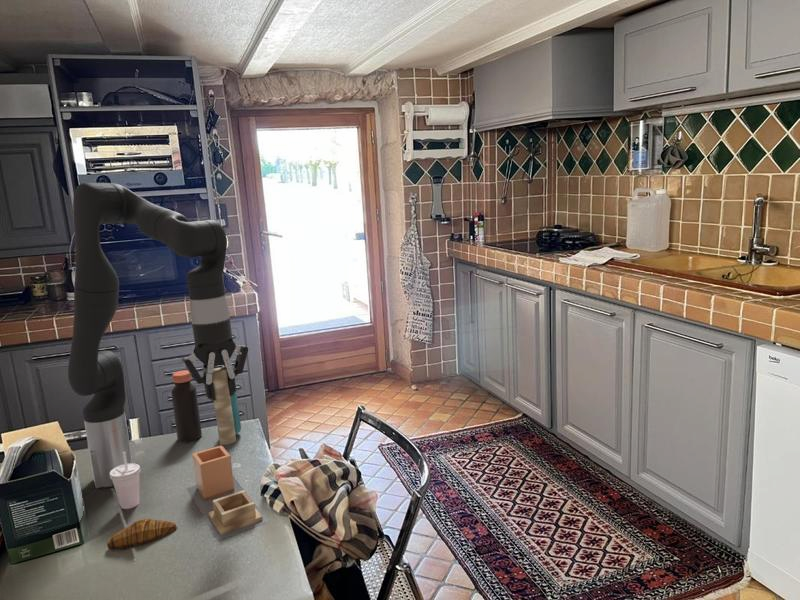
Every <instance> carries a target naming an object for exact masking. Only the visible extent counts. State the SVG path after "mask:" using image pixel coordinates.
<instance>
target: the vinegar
mask: <svg viewBox="0 0 800 600" xmlns="http://www.w3.org/2000/svg"><path fill="white" fill-rule="evenodd" d="M172 381H173V384H174V387H173V389H172V390H171V391H170V392H171V394H170V395H171V400H172V401H171V402H172V408H173V414H174V415H173V416H174V422H175V431H176V437H177V440H178V441H179V442H180V443H188V442H189V443H190V441H191V442H194V441H197V440H199V439H200V438H201V437H202V435H203V432H202V427H201V426H202V425H201V418H200V417H201V416H200V409H199V399H198V393H197V387H196V386H195V385H193V383H192V376H191V374H190V373H189V371H188V370H179V371H175V372H174V373H172ZM198 438H199V439H198Z"/></svg>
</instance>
